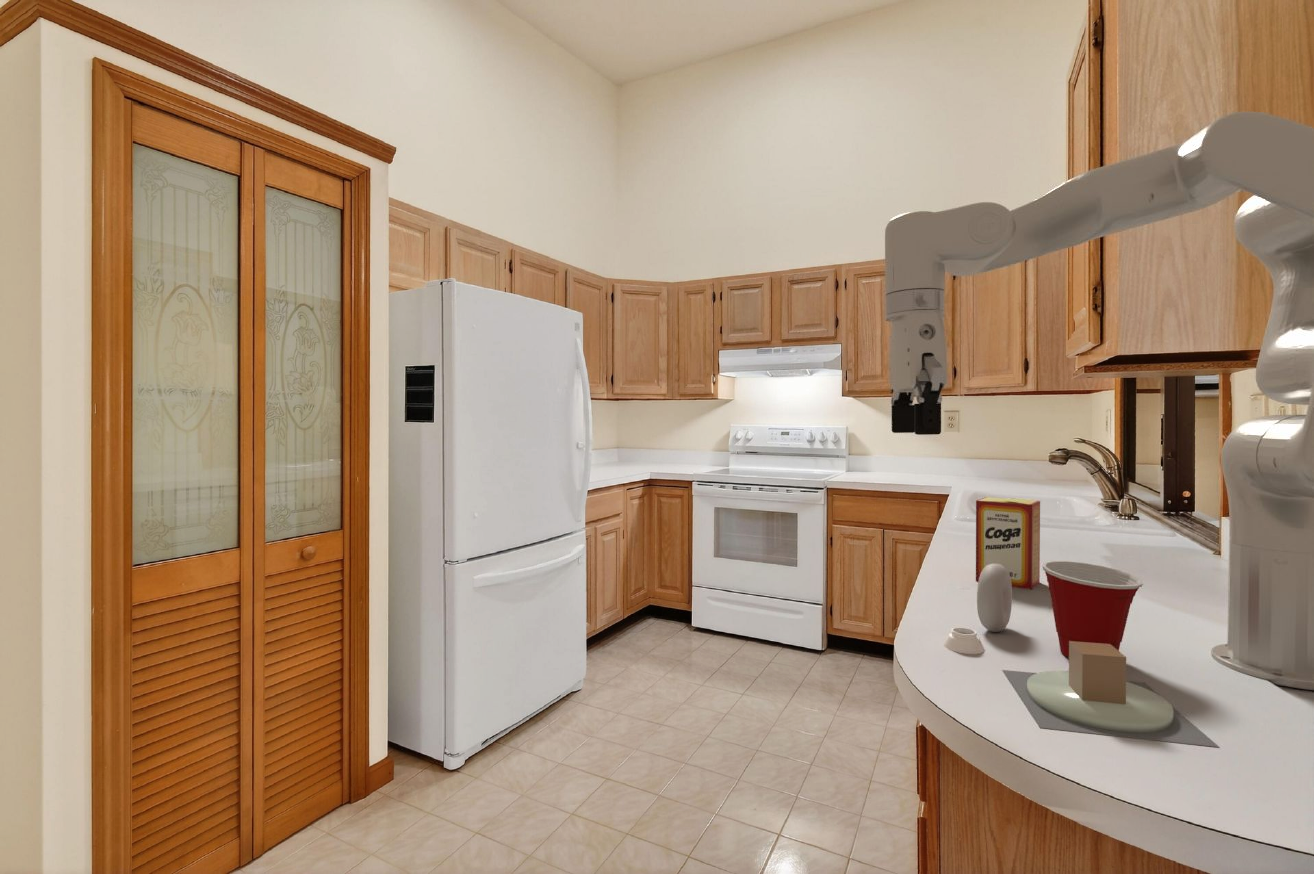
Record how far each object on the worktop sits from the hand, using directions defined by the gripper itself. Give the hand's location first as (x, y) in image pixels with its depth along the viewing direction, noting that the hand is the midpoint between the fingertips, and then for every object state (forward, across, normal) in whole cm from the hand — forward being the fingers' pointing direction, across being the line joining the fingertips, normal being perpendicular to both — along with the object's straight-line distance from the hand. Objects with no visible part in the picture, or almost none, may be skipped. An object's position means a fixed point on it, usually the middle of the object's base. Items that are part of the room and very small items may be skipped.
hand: (914, 433), depth 86 cm
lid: (+29, -18, -13) cm, 37 cm away
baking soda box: (+30, +36, -29) cm, 55 cm away
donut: (+30, +8, -14) cm, 34 cm away
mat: (+30, -18, -13) cm, 37 cm away
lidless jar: (+30, -1, -6) cm, 31 cm away
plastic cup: (+30, -4, -21) cm, 37 cm away
